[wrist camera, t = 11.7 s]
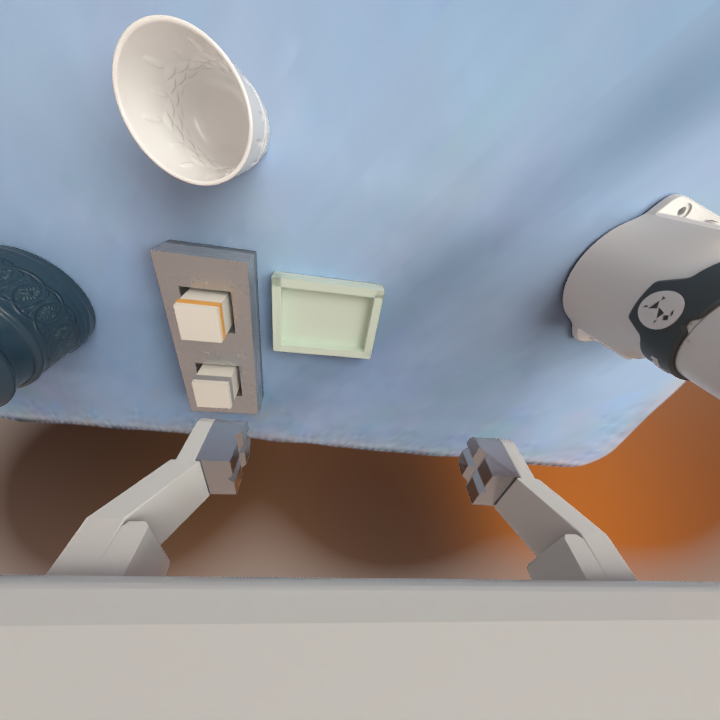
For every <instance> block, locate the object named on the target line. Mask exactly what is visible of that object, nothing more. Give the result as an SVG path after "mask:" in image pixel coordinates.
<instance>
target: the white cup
mask: <svg viewBox="0 0 720 720" xmlns="http://www.w3.org/2000/svg"><path fill="white" fill-rule="evenodd" d="M112 81H113V89H114V94H115V98H116V102H117V105H118V108H119V111H120V113H121V116H122V118H123V120H124V122H125V125H126V126H127V128H128V130H129V132H130V134H131V135H132V137H133V138H134V140H135V141H136V143H137V144H138V145H139V147H140V148H141V149H142V150H143V152H144V153H145V154H146V155H147V156H148V157H149V158H150V159H151V160H152V161H153V162H154V163H155V164H156V165H158V166H159V167H160V168H161V169H163V170H164V171H165V172H167V173H168V174H170V175H172V176H173V177H175V178H177V179H179V180H182V181H184V182H187V183H190V184H194V185H201V186H211V185H217V184H221V183H223V182H226V181H228V180H230V179H232V178H234V177H236V176H238V175H240V174H242V173H244V172H246V171H247V170H249V169H250V168H252V167H253V166H254V165H256V164H257V163H258V162H259V161H260V159H261V158H262V157H263V156H264V154H265V153H266V152H267V149H268V144H269V139H270V134H271V131H270V125H269V120H268V114H267V110H266V108H265V106H264V104H263V103H262V101H261V99H260V97H259V95H258V94H257V92H256V90H255V89H254V88H253V86H252V85H251V83H250V82H249V81H248V79H247V78H246V77H245V76H244V74H243V73H242V72H241V71H240V69H239V68H238V67H237V66H236V65H235V64H234V63H233V62H232V61H231V60H230V58H229V57H228V56H227V55H226V54H225V53H224V52H223V50H222V49H221V48H220V47H219V46H218V45H217V44H216V43H215V42H214V41H213V40H212V39H211V38H210V37H209V36H208V35H206V34H205V33H204V32H203V31H201V30H200V29H198V28H197V27H195V26H194V25H192V24H190V23H188V22H186V21H184V20H181V19H179V18H175V17H172V16H166V15H152V16H147V17H144V18H141V19H139V20H137V21H135V22H134V23H132V24H131V25H130V26H129V27H128V28H127V29H126V30H125V31H124V32H123V34H122V35H121V37H120V39H119V41H118V43H117V45H116V48H115V52H114V56H113V63H112Z"/></svg>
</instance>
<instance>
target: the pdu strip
mask: <svg viewBox="0 0 720 720" xmlns="http://www.w3.org/2000/svg"><path fill="white" fill-rule="evenodd" d="M150 253H151V257H152V261H153V264H154V268H155V272H156V276H157V280H158V284H159V288H160V291H161V295H162V299H163V303H164V307H165V311H166V315H167V319H168V322H169V326H170V330H171V334H172V338H173V342H174V346H175V349H176V353H177V357H178V361H179V365H180V369H181V373H182V377H183V380H184V384H185V388H186V392H187V396H188V400H189V404H190V407H191V411H207V412H226V413H245V414H258V412H259V409H260V405H261V402H262V398H263V377H262V358H261V339H260V320H259V301H258V281H257V262H256V251H250V250H242V249H235V248H227V247H220V246H212V245H205V244H197V243H190V242H182V241H175V240H167V241H166V242H164V243H162V244H160V245H158V246H156V247H155V248H153V249H151V250H150ZM190 288H200V289H209V290H218V291H227V292H231V297H232V306H233V315H234V323H233V324H232V326H231V328H230V329H229V331H228V333H227V335H226V338H225V339H224V340H223V341H222V343H216V342H204V341H192V340H181V336H180V331H179V327H178V323H177V319H176V315H175V311H174V306H173V304H174V303H175V301H176V300H177V299H179V298H181V297H182V296H183V295H184V294H185V293H186V292H187V291H188V290H189V289H190ZM203 363H204V364H218V365H231V366H239V370H240V379H241V385H240V387H239V390H238V392H237V395H236V397H235V400H234V404H233V406H232V407H231V409H228V408H210V407H197V403H196V399H195V395H194V391H193V386H192V381H193V378H194V377H195V375H197V373H198V371H199V370H200V368H201V366H202V365H203Z"/></svg>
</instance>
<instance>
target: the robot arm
mask: <svg viewBox="0 0 720 720" xmlns="http://www.w3.org/2000/svg"><path fill="white" fill-rule="evenodd" d="M563 307H564V310H565V313H566V314H567V316H568V317H569V319H570V320H571V322H572V335H573V337H574V338H575V339H577V340H579V341H582V342H584V341H598V342H599V343H601V344H602V345H604V346H606V347H607V348H609V349H611V350H612V351H614V352H616V353H617V354H619V355H620V356H622V357H624V358H626V359H633V358H634V359H643V358H647V359H648V360H650V361H652V362H653V363H654V364H655V365H656V366H657V367H659V368H660V369H662V370H663V371H665V372H667V373H670V374H672V375H674V376H675V377H677V378H679V379H683V380H687V381H692V382H693V383H695V384H696V385H698V386H699V387H701V388H702V389H704V390H706V391H707V392H709V393H710V394H712V395H713V396H715V397H716V398H718V399H719V400H720V216H718V215H716V214H715V213H713V212H711V211H710V210H708V209H706V208H705V207H703V206H701V205H700V204H698V203H696V202H695V201H693V200H691V199H690V198H688V197H686V196H683V195H679V194H672V195H670V196H668V197H666V198H665V199H663V200H662V201H660V202H659V203H658V204H656V205H655V206H654V207H652V208H651V209H650V210H649V211H648V212H646V213H645V214H643V215H641V216H639V217H637V218H635V219H633V220H631V221H628V222H626V223H624V224H622V225H620V226H618V227H616V228H614V229H613V230H611V231H610V232H608V233H607V234H605V235H604V236H603V237H601V238H600V239H599V240H598V241H596V242H595V243H594V244H593V245H592V246H591V247H590V248H589V249H588V250H587V251H586V252H585V253H584V254H583V256H582V257H581V258H580V259H579V261H578V262H577V263H576V265H575V266H574V268H573V270H572V271H571V273H570V275H569V277H568V279H567V282H566V284H565V288H564V292H563ZM248 430H249V427H248V422H242V421H231V420H221V419H209V418H200V419H199V420H198V421H197V422H196V424H195V426H194V428H193V430H192V431H191V433H190V435H189V437H188V439H187V440H186V442H185V444H184V446H183V448H182V449H181V451H180V453H179V455H178V457H177V459H176V460H172V459H171V460H169V461H168V462H167V463H165V464H164V465H162V466H161V467H159V468H158V469H156V470H155V471H154V472H152V473H151V474H149V475H148V476H146V477H145V478H144V479H142V480H141V481H139V482H138V483H136V484H135V485H133V486H132V487H131V488H129V489H128V490H126V491H125V492H123V493H122V494H120V495H119V496H117V497H116V498H115V499H113V500H112V501H110V502H109V503H107V504H106V505H105V506H103V507H102V508H100V509H99V510H97V511H96V512H94V513H93V514H92V515H90V516H89V517H87V518H86V520H85V521H84V522H83V524H82V525H81V527H80V528H79V529H78V531H77V532H76V534H75V535H74V536H73V538H72V539H71V541H70V542H69V543H68V545H67V546H66V548H65V549H64V551H63V552H62V553H61V555H60V556H59V557H58V559H57V560H56V562H55V563H54V564H53V566H52V567H51V569H50V570H49V571H48V573H47V574H46V575H0V720H720V582H687V581H684V582H682V581H637V579H636V578H635V576H634V575H633V573H632V572H631V570H630V569H629V567H628V566H627V564H626V563H625V561H624V560H623V558H622V557H621V555H620V554H619V553H618V551H617V549H616V548H615V546H614V545H613V543H612V542H611V541H610V539H609V538H608V536H607V535H606V534H605V533H604V532H603V531H602V530H600V529H599V528H598V527H597V526H595V525H594V524H593V523H592V522H591V521H589V520H588V519H587V518H586V517H584V516H583V515H582V514H581V513H579V512H578V511H577V510H576V509H575V508H573V507H572V506H571V505H570V504H568V503H567V502H566V501H565V500H564V499H562V498H561V497H560V496H559V495H557V494H556V493H555V492H554V491H552V490H551V489H550V488H549V487H548V486H546V485H545V484H544V483H543V482H541V481H540V480H539V479H534V476H533V475H532V473H531V471H530V470H529V468H528V466H527V464H526V463H525V461H524V459H523V457H522V456H521V454H520V452H519V450H518V449H517V447H516V445H515V443H514V442H513V441H511V440H505V439H494V438H476V437H472V438H470V439H469V440H468V442H467V445H468V448H466V449H465V450H463V451H462V453H461V455H460V459H459V466H460V471H461V474H462V476H463V477H464V478H465V479H466V480H467V481H468V482H467V485H466V488H467V491H468V494H469V496H470V499H471V502H472V504H478V505H491V506H492V505H493V506H494V508H495V509H496V510H497V511H498V512H499V513H500V515H501V516H502V517H503V518H504V519H505V520H506V522H507V523H508V524H509V525H510V526H511V527H512V528H513V530H514V531H515V532H516V533H517V534H518V536H519V537H520V538H521V539H522V540H523V541H524V543H525V544H526V545H527V546H528V547H529V548H530V549H531V551H532V552H533V553H534V554H535V555H536V558H535V559H534V560H533V561H531V562H530V563H529V564H528V566H527V570H528V572H529V575H530V577H531V580H488V579H486V580H485V579H484V580H483V579H389V578H382V579H381V578H288V577H286V578H285V577H280V578H279V577H185V576H183V577H179V576H165V574H166V572H167V569H168V567H169V565H170V561H169V559H168V557H167V555H166V554H165V552H164V550H163V549H162V547H161V546H160V545H161V544H162V543H163V541H165V540H166V539H167V538H168V537H169V536H170V535H171V534H172V533H173V532H174V531H175V530H176V529H177V528H178V527H179V526H180V525H181V524H182V523H183V522H184V521H185V520H186V519H187V518H188V517H189V516H190V514H192V513H193V512H194V511H195V510H196V509H197V507H198V506H200V504H201V503H202V502H204V500H205V499H206V498H207V497H208V496H209V494H237V491H238V488H239V485H240V481H241V478H242V470H241V468H242V467H243V466H244V465H246V463H247V460H248V456H249V450H250V437H249V436H248V435H247V433H248Z"/></svg>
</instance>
